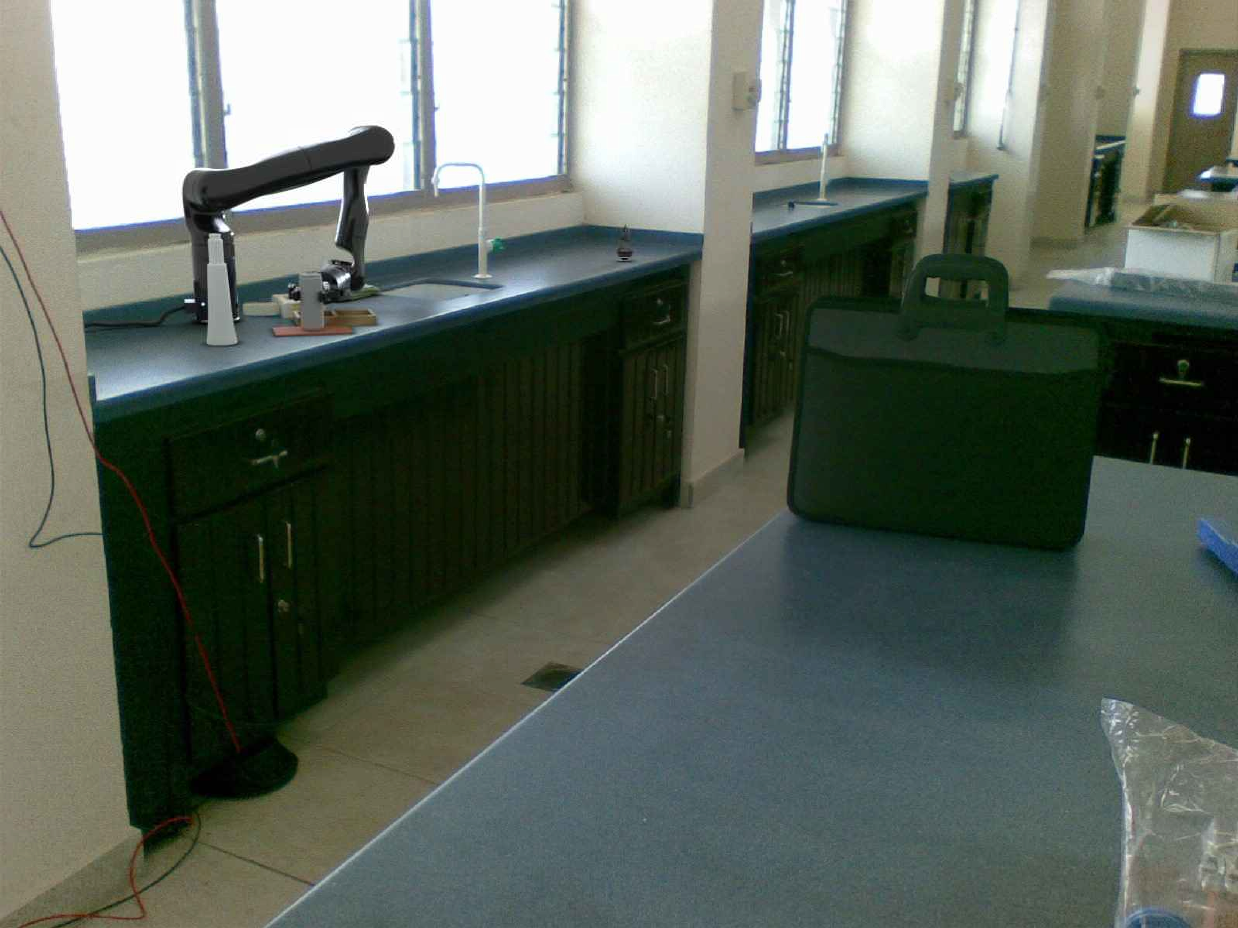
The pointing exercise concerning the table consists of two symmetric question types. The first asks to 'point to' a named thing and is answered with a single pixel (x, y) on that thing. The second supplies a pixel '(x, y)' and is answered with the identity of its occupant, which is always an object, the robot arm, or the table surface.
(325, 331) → the mat
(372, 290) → the washcloth
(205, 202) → the robot arm
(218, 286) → the cosmetic bottle
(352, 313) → the wooden compartment tray
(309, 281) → the grey rectangular block
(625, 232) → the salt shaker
